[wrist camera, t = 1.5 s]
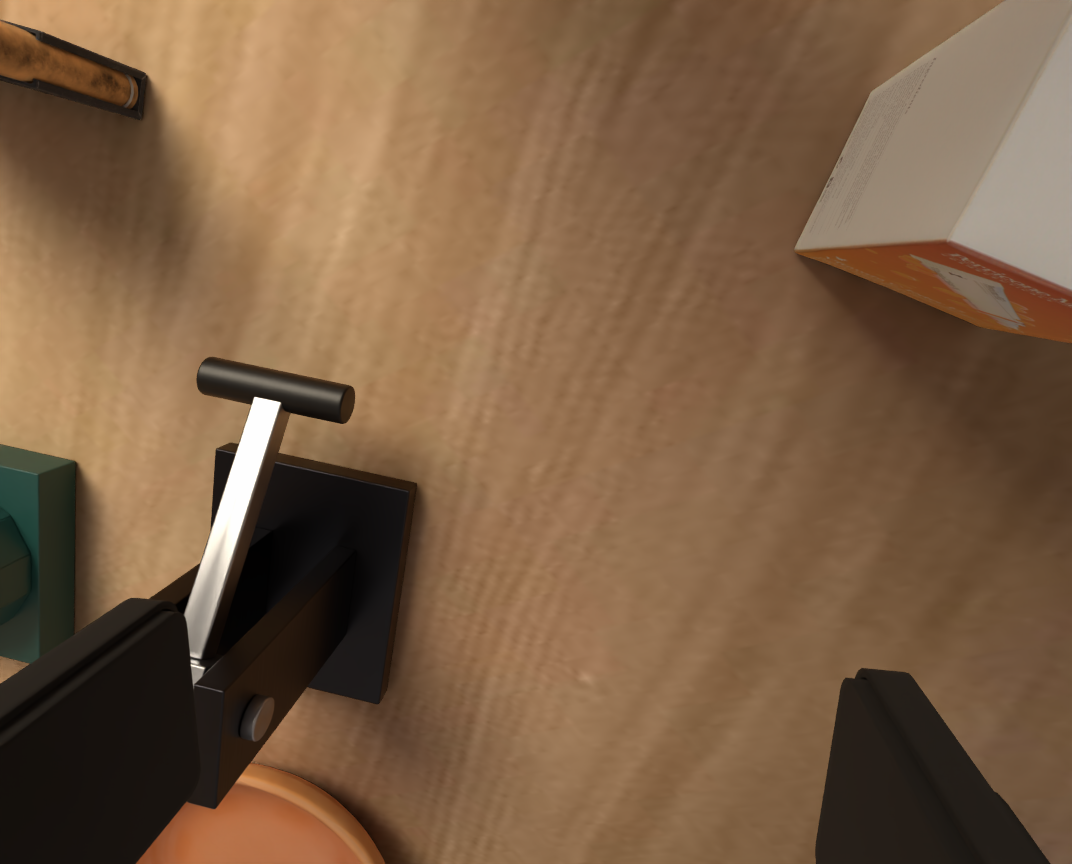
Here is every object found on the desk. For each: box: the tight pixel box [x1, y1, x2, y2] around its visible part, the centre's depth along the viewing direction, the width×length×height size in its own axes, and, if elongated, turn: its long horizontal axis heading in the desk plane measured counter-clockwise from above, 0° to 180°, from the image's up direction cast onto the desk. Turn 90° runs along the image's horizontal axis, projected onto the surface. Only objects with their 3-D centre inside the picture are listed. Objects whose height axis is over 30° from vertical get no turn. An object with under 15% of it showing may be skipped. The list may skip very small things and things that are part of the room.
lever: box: [184, 357, 355, 689], centre depth 24 cm, size 13×6×2 cm, turn 168°
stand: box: [150, 443, 417, 809], centre depth 27 cm, size 11×9×12 cm
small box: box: [794, 0, 1072, 343], centre depth 19 cm, size 8×6×13 cm
